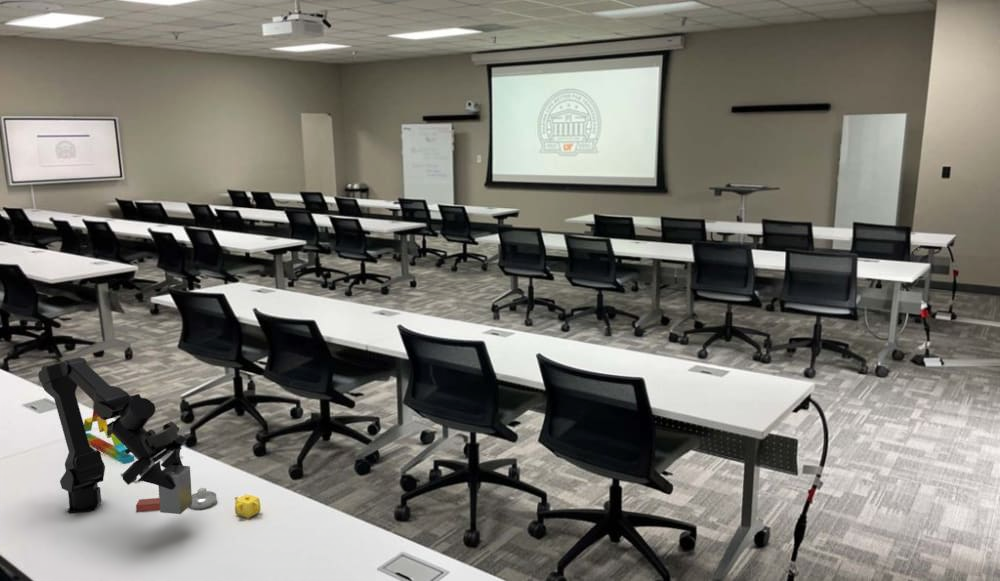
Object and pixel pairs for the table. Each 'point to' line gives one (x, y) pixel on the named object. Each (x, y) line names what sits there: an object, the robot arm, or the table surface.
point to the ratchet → (198, 503)
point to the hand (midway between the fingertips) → (180, 483)
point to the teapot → (247, 506)
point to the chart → (102, 445)
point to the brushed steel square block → (176, 490)
